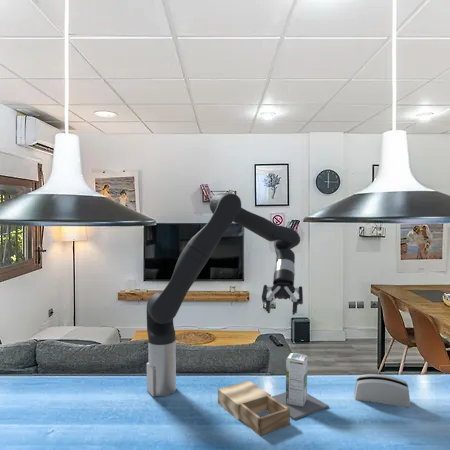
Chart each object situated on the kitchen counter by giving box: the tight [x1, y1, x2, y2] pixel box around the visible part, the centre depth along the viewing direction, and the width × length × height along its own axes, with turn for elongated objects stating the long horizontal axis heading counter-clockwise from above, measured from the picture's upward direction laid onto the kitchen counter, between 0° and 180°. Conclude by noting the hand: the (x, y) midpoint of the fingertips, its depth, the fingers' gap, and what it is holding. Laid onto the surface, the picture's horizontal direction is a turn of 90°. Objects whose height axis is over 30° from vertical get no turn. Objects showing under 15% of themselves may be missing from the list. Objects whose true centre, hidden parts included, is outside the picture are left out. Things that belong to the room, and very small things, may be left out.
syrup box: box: [285, 352, 308, 407], centre depth 120 cm, size 6×6×14 cm
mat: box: [271, 391, 330, 421], centre depth 120 cm, size 14×14×1 cm
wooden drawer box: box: [217, 380, 291, 436], centre depth 115 cm, size 22×12×4 cm, turn 31°
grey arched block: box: [353, 373, 411, 408], centre depth 121 cm, size 17×5×10 cm, turn 71°
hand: (281, 312), depth 130 cm, fingers open, 8 cm apart
